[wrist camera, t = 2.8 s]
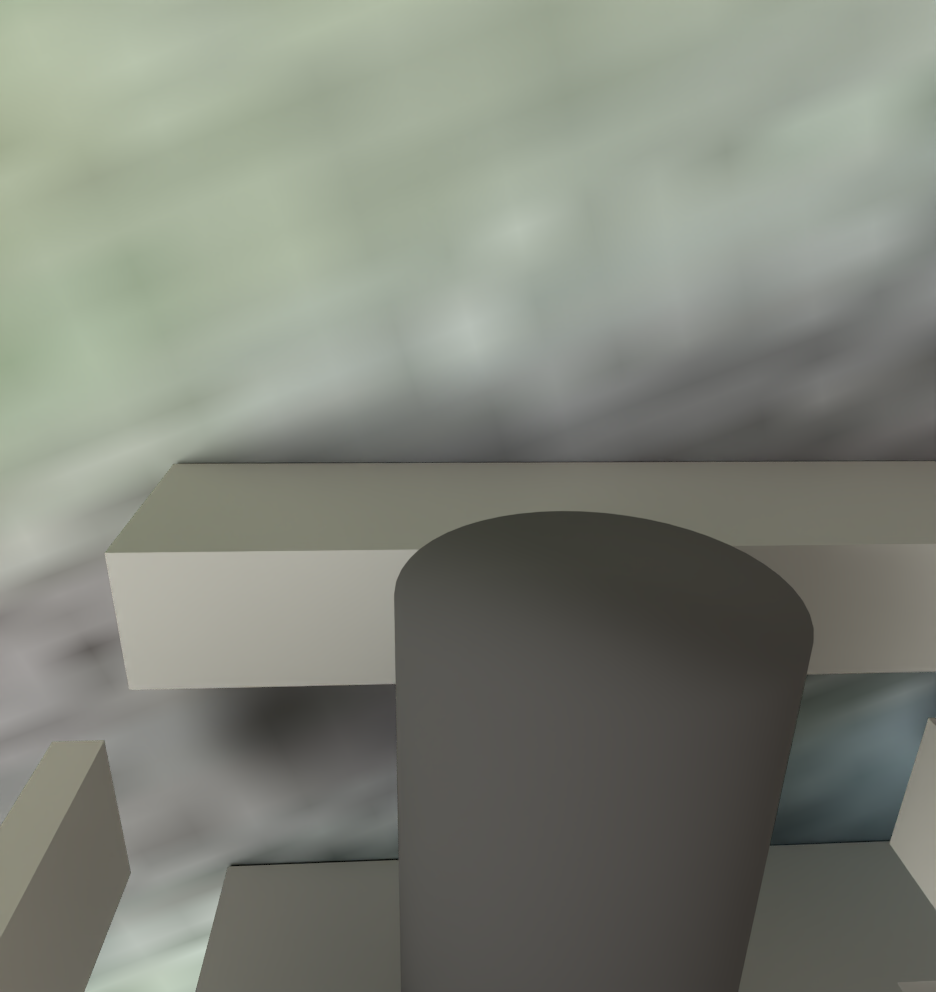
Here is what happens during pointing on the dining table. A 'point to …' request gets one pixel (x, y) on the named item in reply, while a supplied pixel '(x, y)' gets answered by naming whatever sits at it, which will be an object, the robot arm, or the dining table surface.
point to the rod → (588, 753)
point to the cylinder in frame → (371, 660)
